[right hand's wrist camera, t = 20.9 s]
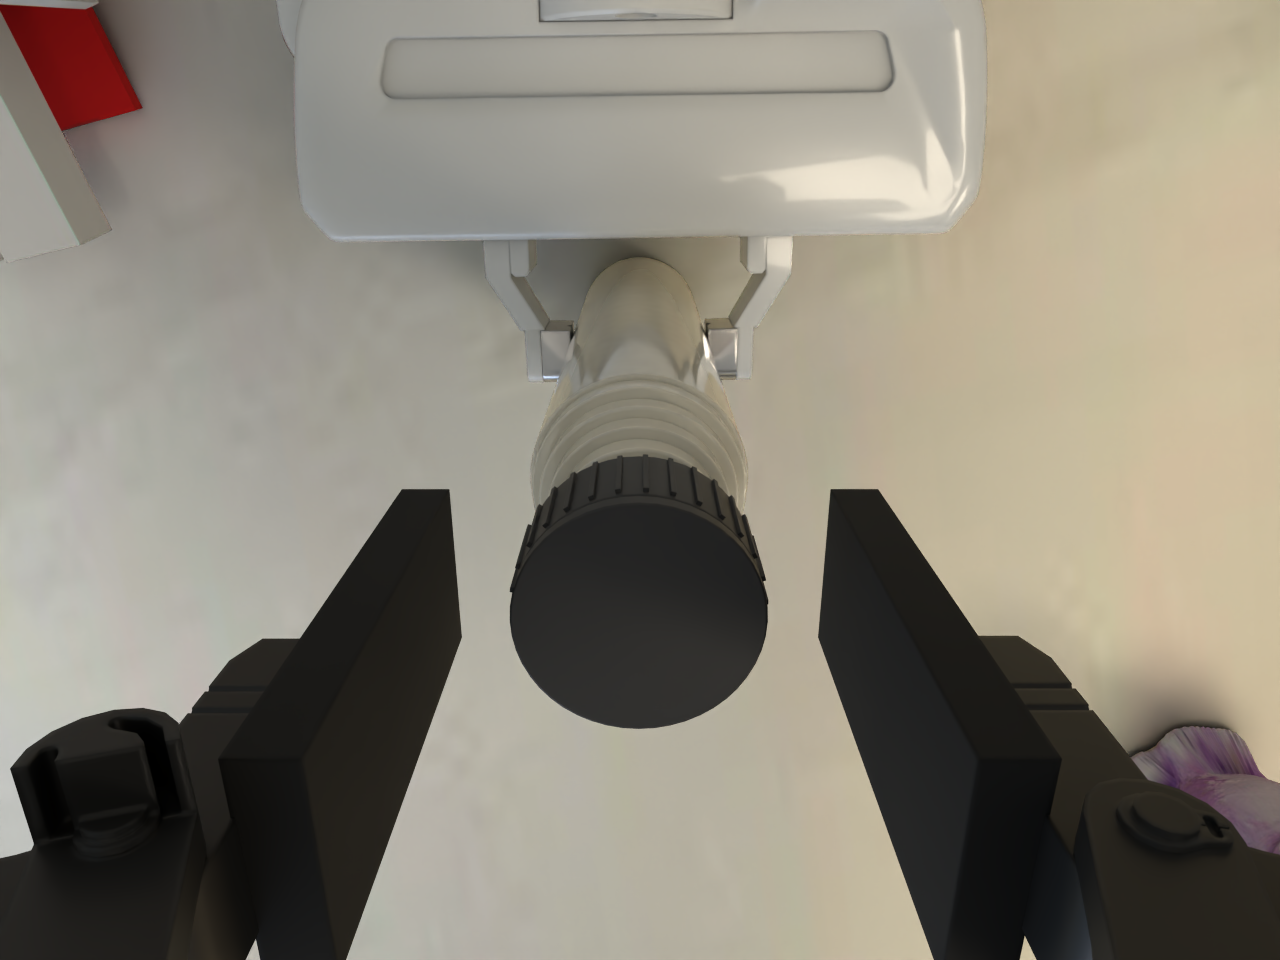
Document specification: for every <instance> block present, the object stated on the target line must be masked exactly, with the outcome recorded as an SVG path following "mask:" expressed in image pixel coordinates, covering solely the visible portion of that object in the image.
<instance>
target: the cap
mask: <svg viewBox="0 0 1280 960" xmlns="http://www.w3.org/2000/svg"><path fill="white" fill-rule="evenodd" d="M515 568H516V570H515V573H514V577H513V580H512V584H511V587H510V592H512V598H511V604H510V626H511V633H512V638H513V641H514V645H515V648H516V651H517V653H518V656H519V658H520V660H521V662H522V664H523V666H524V667H525V669H526V671H527V672H528V674H529V675H530V677H531V678H532V679H533V680H534V682H535V683H536V684H537V685H538V686H539V688H540V689H541V690H542V691H544V692H545V693H546V694H547V695H548V696H549V697H550V698H551V699H553V700H554V701H555V702H557V703H558V704H559V705H561V706H562V707H564V708H565V709H567V710H569V711H571V712H573V713H575V714H576V715H578V716H581V717H583V718H586V719H588V720H591V721H594V722H597V723H601V724H604V725H608V726H614V727H620V728H634V729H644V728H657V727H663V726H669V725H673V724H677V723H680V722H684V721H687V720H689V719H692V718H694V717H697V716H699V715H701V714H703V713H705V712H707V711H709V710H710V709H712V708H714V707H715V706H717V705H718V704H720V703H721V702H722V701H724V700H725V699H727V698H728V697H729V696H730V695H731V694H732V693H733V692H734V691H735V690H736V689H737V688H738V687H739V686H740V685H741V684H742V682H743V681H744V680H745V679H746V678H747V676H748V675H749V673H750V672H751V670H752V668H753V667H754V665H755V664H756V661H757V659H758V657H759V655H760V653H761V650H762V647H763V644H764V640H765V637H766V630H767V623H768V607H767V604H768V597H767V593H766V590H765V586H764V583H763V581H766V578H765V574H764V571H763V567H762V564H761V560H760V557H759V553H758V550H757V546H756V543H755V539H754V536H752V534H751V531H750V527H749V524H748V520H747V517H746V515H745V514H744V515H741V513H740V511H739V510H738V508H737V506H736V502H735V498H734V497H733V496H732V495H731V496H728V495H727V494H726V493H725V492H724V490H723V489H722V488H720V487H719V485H718V481H717V480H715V479H713V480H711V479H710V478H708V477H706V476H705V475H703V474H702V473H700V472H699V471H697V468H696V467H694V466H692V467H691V468H690V467H688V466H686V465H683V464H680V463H677V462H674V460H673V459H672V458H668V460H667V459H661V458H656V457H648V455H647V454H643V456H634V457H623V456H622V455H621V456H617V458H616V459H611V460H607V461H604V462H600V463H598V461H596V462H593V464H592V466H590V467H588V468H585V469H583V470H581V471H579V472H578V473H575V472H573V473H571V474H570V478H568V479H567V480H566V481H564V482H563V483H562V484H561V485H560V486H559V487H555V486H554V487H553V488H552V489H551V493H550V496H549V497H548V498H547V499H546V501H545V502H544V503H543V505H540V504H539V505H538V506H537V508H536V512H535V516H534V519H533V523H532V525H529V524H528V526H527V529H526V532H525V536H524V539H523V543H522V546H521V550H520V553H519V556H518V560H517V563H516V567H515Z"/></svg>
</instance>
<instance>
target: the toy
mask: <svg viewBox="0 0 1280 960" xmlns="http://www.w3.org/2000/svg"><path fill="white" fill-rule="evenodd" d="M96 4H99V2H98V0H0V261H1V260H3V259H5V261H6V263H9V262H13V261H17V260H21V259H25V258H29V257H33V256H37V255H42V254H46V253H50V252H54V251H58V250H62V249H66V248H70V247H74V246H78V245H82V244H84V243H86V242H88V241H90V240H92V239H94V238H96V237H98V236H101V235H103V234H105V233H107V232H109V231H111V230H112V229H111V227H110V225H109V223H108V221H107V219H106V217H105V215H104V213H103V212H102V210H101V208H100V206H99V204H98V202H97V200H96V198H95V196H94V194H93V192H92V190H91V188H90V186H89V184H88V182H87V180H86V178H85V176H84V174H83V172H82V170H81V168H80V166H79V165H78V163H77V161H76V159H75V157H74V155H73V153H72V151H71V149H70V147H69V145H68V143H67V141H66V139H65V137H64V135H63V133H62V131H63V130H67V129H70V128H74V127H77V126H81V125H85V124H88V123H92V122H95V121H99V120H103V119H106V118H110V117H113V116H117V115H120V114H124V113H128V112H131V111H135V110H138V109H141V108H142V106H141V104H140V102H139V100H138V98H137V96H136V94H135V92H134V90H133V88H132V86H131V84H130V82H129V80H128V78H127V76H126V74H125V72H124V70H123V68H122V66H121V64H120V62H119V60H118V58H117V56H116V54H115V52H114V50H113V48H112V46H111V44H110V42H109V40H108V38H107V36H106V34H105V32H104V30H103V28H102V26H101V24H100V22H99V20H98V18H97V16H96V14H95V12H94V10H93V8H92V6H94V5H96Z"/></svg>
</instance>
